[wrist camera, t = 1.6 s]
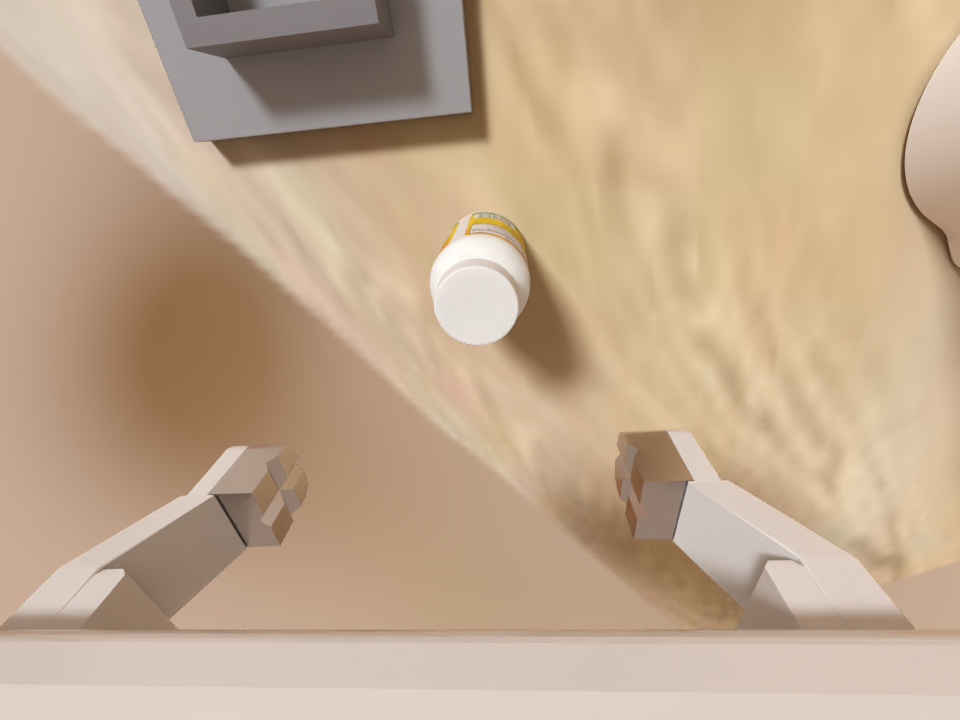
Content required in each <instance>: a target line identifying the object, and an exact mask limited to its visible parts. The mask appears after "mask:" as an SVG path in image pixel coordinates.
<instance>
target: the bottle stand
mask: <svg viewBox="0 0 960 720" xmlns="http://www.w3.org/2000/svg"><path fill="white" fill-rule="evenodd" d="M138 3H139V5H140V8H141V10H142V13H143V15H144V18H145V20H146V23H147V25H148V28H149V30H150V33H151V35H152V38H153V40H154V43H155V45H156V48H157V50H158V53H159V55H160V58H161V60H162V63H163V66H164V68H165V71H166V73H167V76H168V78H169V81H170V83H171V86H172V88H173V91H174V93H175V96H176V98H177V101H178V103H179V106H180V108H181V111H182V113H183V116H184V118H185V121H186V123H187V126H188V128H189V131H190V133H191V136H192V138H193V141H194V142H207V141H218V140H227V139H236V138H246V137H255V136H264V135H273V134H282V133H291V132H300V131H309V130H318V129H327V128H336V127H346V126H355V125H364V124H373V123H382V122H391V121H400V120H409V119H418V118H427V117H437V116H446V115H455V114H464V113H473V109H472V97H471V85H470V73H469V62H468V50H467V38H466V26H465V15H464V3H463V0H138Z"/></svg>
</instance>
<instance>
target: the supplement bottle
mask: <svg viewBox="0 0 960 720" xmlns="http://www.w3.org/2000/svg"><path fill="white" fill-rule="evenodd" d="M530 283H531V282H530V273H529V267H528V261H527V256H526V249H525V244H524V240H523V237H522V235H521V233H520V231H519V230H518V228H517V227H516V226H515V225H514V223H512V222H511V221H510V220H509V219H508V218H506V217H504V216H502V215H500V214H497V213H494V212H488V211H483V212H476V213H472V214H470V215H468V216H466V217H464V218H463V219H461V220H460V221H459V222H458V223H457V224H456V225H455V226H454V227H453V229H452V230H451V232H450V233H449V235H448V237H447V239H446V241H445V243H444V245H443V247H442V249H441V251H440V252H439V254H438V256H437V257H436V259H435V262H434V264H433V267H432V270H431V274H430V292H431V296H432V300H433V302H434V309H435V314H436V318H437V320H438V322H439V324H440V325H441V327H442V328H443V329H444V331H445V332H446V333H447V334H448V335H450V336H451V337H452V338H454V339H455V340H457V341H459V342H462V343H465V344H469V345H486V344H490V343H493V342H496V341H498V340H500V339H501V338H503V337H504V336H505V335H506V334H507V333H508V332H509V331H510V330H511V329H512V327H513V326H514V324H515V322H516V320H517V317H518V316H519V315H520V314H521V312H522V311H523V309H524V307H525V306H526V303H527V301H528V297H529V294H530Z"/></svg>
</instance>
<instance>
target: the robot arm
mask: <svg viewBox="0 0 960 720" xmlns="http://www.w3.org/2000/svg"><path fill="white" fill-rule="evenodd" d="M905 176H906V182H907V186H908V190H909V193H910V195H911V197H912V200H913V202H914V203H915V205H916V206H917V208H918V209H919V210H920V212H921V213H922V214H923V215H924V216H925V217H926V218H928V219H929V220H930V221H932V222H933V223H934V224H935V225H937V226H938V227H939V228H940V229H941V230H942V231H943V232H944V233H945V234H946V236H947V240H948V245H949V250H950V254H951V257H952V260H953V262H954V263H955V265H956V266H958V267H959V268H960V34H959V36H958V37H957V38H956V40H955V41H954V42H953V44H952V45H951V46H950V48H949V49H948V51H947V52H946V54H945V55H944V57H943V58H942V60H941V62H940V63H939V65H938V66H937V68H936V70H935V71H934V73H933V75H932V77H931V79H930V80H929V82H928V84H927V86H926V88H925V90H924V92H923V94H922V97H921V99H920V101H919V104H918V106H917V108H916V111H915V114H914V117H913V120H912V123H911V126H910V130H909V134H908V139H907V144H906V151H905ZM617 446H618V448H619V451H620V455H619V456H618V457H617V458H616V460H615V480H616V485H617V489H618V493H619V496H620V498H621V499H622V500H623V501H624V502H626V503H627V506H626V517H627V520H628V523H629V526H630V529H631V532H632V535H633V538H634V539H665V540H673V542H674V543H675V544H676V545H677V546H678V547H679V548H680V549H681V550H682V551H683V552H684V553H685V554H687V555H688V556H689V557H690V558H691V559H692V560H693V561H694V562H695V563H696V564H697V565H698V566H699V567H700V568H701V569H702V570H703V571H704V572H705V573H706V574H707V575H708V576H709V577H710V578H711V579H712V580H713V581H714V582H715V583H716V584H717V585H718V586H719V587H720V588H721V589H722V590H723V591H724V592H725V593H726V594H727V595H728V596H729V597H731V598H732V599H733V600H734V601H735V602H736V603H737V604H738V605H739V606H740V607H741V608H742V609H743V610H744V613H743V615H742V618H741V620H740V622H739V624H738V626H737V628H736V630H178V629H177V627H176V626H175V625H174V624H173V623H172V622H171V621H170V620H169V619H170V618H171V617H172V616H173V615H175V614H176V613H177V612H178V611H179V610H180V609H181V608H182V607H183V606H184V605H186V604H187V603H188V602H189V601H190V600H191V599H192V598H193V597H194V596H196V594H198V592H200V591H201V590H202V589H203V588H204V587H205V586H206V585H208V583H210V582H211V581H212V580H213V579H214V578H215V577H216V576H217V575H219V573H221V572H222V571H223V570H224V569H225V568H226V567H227V566H228V565H230V563H232V562H233V561H234V560H235V559H236V558H237V557H238V556H239V555H241V554H242V553H243V552H244V551H245V550H246V549H247V548H246V547H254V546H256V547H257V546H278V545H281V543H282V541H283V539H284V538H285V536H286V534H287V532H288V530H289V528H290V526H291V524H292V522H293V519H292V515H291V514H292V513H293V512H294V511H296V510H297V509H298V508H300V507H301V505H302V503H303V501H304V499H305V497H306V493H307V488H308V481H307V475H306V473H305V470H304V469H303V468H302V467H300V466H299V465H298V464H296V461H297V459H298V454H297V452H296V450H295V448H294V447H292V446H289V445H255V446H233V447H231V448H229V449H227V450H226V451H225V452H224V453H223V455H222V456H221V457H220V458H219V459H218V460H217V462H216V463H215V464H214V465H213V466H212V467H211V469H210V470H209V471H208V472H207V473H206V474H205V475H204V477H203V478H202V479H201V480H200V481H199V482H198V484H197V485H196V486H195V487H194V488H193V489H192V490H191V492H190V493H189V494H188V495H187V496H180V497H178V498H177V499H175V500H173V501H172V502H170V503H168V504H167V505H165V506H163V507H161V508H160V509H158V510H156V511H155V512H153V513H151V514H150V515H148V516H146V517H145V518H143V519H141V520H140V521H138V522H136V523H135V524H133V525H131V526H130V527H128V528H126V529H124V530H123V531H121V532H119V533H118V534H116V535H114V536H112V537H111V538H109V539H107V540H106V541H104V542H102V543H101V544H99V545H97V546H96V547H94V548H92V549H91V550H89V551H87V552H85V553H84V554H82V555H81V556H79V557H77V558H75V559H74V560H72V561H70V562H68V563H67V564H65V565H63V566H62V567H60V568H59V569H58V570H57V571H56V572H55V573H54V574H53V575H52V576H51V577H50V578H49V579H48V580H47V581H46V582H45V583H44V584H43V585H42V586H41V587H40V588H39V589H38V590H37V591H36V592H35V593H34V594H33V595H32V596H31V597H30V598H29V599H28V600H27V601H26V602H25V603H24V604H23V605H22V606H20V607H19V608H18V609H17V611H15V613H13V614H12V615H11V616H10V617H9V618H8V619H7V620H6V621H5V622H4V623H3V625H1V626H0V720H960V630H916V629H915V628H914V627H913V625H912V624H911V623H910V622H909V621H908V620H907V618H906V617H905V616H904V615H903V613H902V612H901V611H900V610H899V609H898V607H897V606H896V605H895V604H894V603H893V602H892V600H891V599H890V598H889V597H888V596H887V594H886V593H885V592H884V591H883V590H882V588H881V587H880V586H879V585H878V584H877V582H876V581H875V580H874V579H873V578H872V576H871V575H870V574H869V573H868V572H867V570H866V569H865V568H864V567H863V566H862V564H861V563H860V562H859V561H858V560H857V558H855V557H854V556H852V555H850V554H849V553H847V552H846V551H844V550H842V549H841V548H839V547H837V546H836V545H834V544H832V543H831V542H829V541H827V540H826V539H824V538H823V537H821V536H819V535H818V534H816V533H814V532H813V531H811V530H809V529H808V528H806V527H805V526H803V525H801V524H800V523H798V522H796V521H795V520H793V519H791V518H790V517H788V516H786V515H785V514H783V513H782V512H780V511H778V510H777V509H775V508H773V507H772V506H770V505H768V504H767V503H765V502H763V501H762V500H760V499H759V498H757V497H755V496H754V495H752V494H750V493H749V492H747V491H745V490H744V489H742V488H741V487H739V486H737V485H736V484H734V483H732V482H731V481H729V480H727V481H722V480H721V478H720V477H719V475H718V474H717V472H716V471H715V469H714V468H713V466H712V465H711V463H710V462H709V460H708V458H707V457H706V455H705V454H704V452H703V451H702V449H701V448H700V446H699V445H698V443H697V442H696V440H695V438H694V437H693V435H692V434H691V432H690V431H689V430H687V429H670V430H663V431H662V430H657V431H636V432H620V434H619V436H618V443H617Z"/></svg>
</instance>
